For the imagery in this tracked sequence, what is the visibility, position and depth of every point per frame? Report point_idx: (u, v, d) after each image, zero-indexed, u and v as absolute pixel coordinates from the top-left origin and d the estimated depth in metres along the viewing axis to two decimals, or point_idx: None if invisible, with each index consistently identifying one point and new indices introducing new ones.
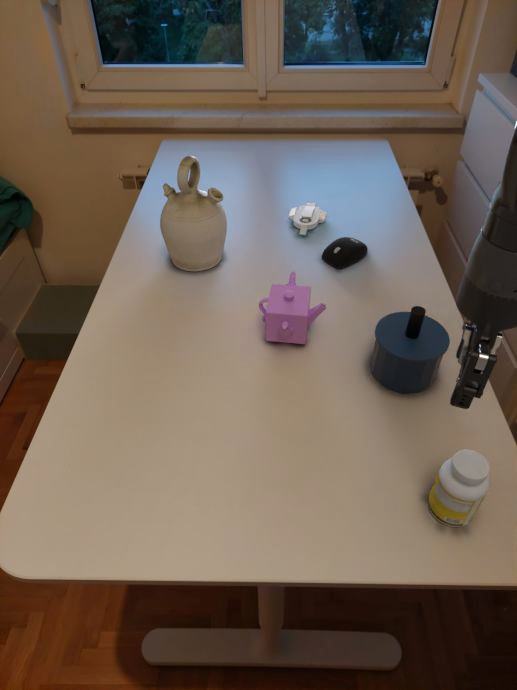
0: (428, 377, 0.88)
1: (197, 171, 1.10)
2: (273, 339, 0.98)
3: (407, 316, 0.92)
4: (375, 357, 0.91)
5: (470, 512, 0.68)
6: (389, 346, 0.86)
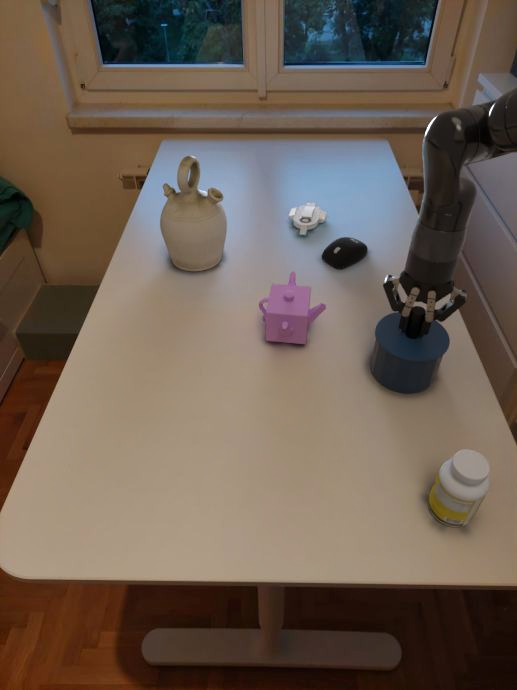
0: (428, 377, 0.88)
1: (197, 171, 1.10)
2: (273, 339, 0.98)
3: None
4: (375, 357, 0.91)
5: (470, 512, 0.68)
6: (389, 346, 0.86)
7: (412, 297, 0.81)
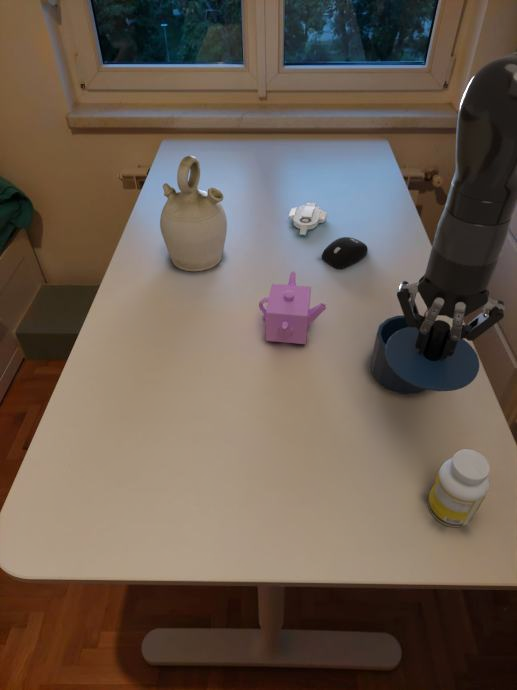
0: None
1: (197, 171, 1.10)
2: (273, 339, 0.98)
3: None
4: (375, 357, 0.91)
5: (470, 512, 0.68)
6: (404, 370, 0.68)
7: (434, 310, 0.64)
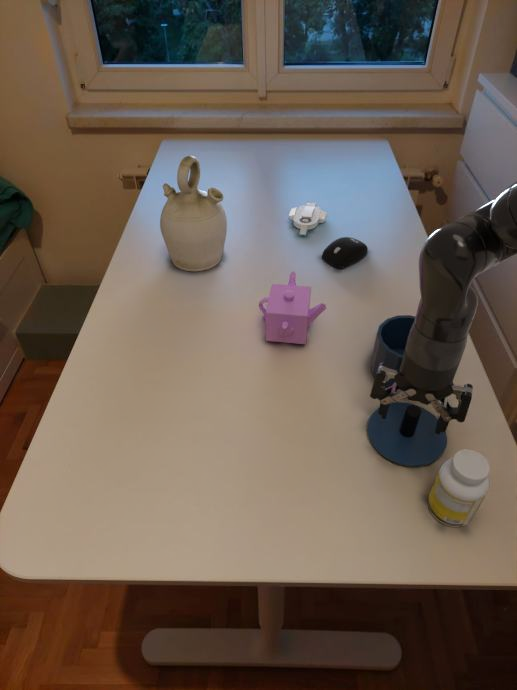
0: None
1: (197, 171, 1.10)
2: (273, 339, 0.98)
3: (402, 408, 0.86)
4: (375, 357, 0.91)
5: (470, 512, 0.68)
6: (382, 447, 0.80)
7: (403, 394, 0.75)
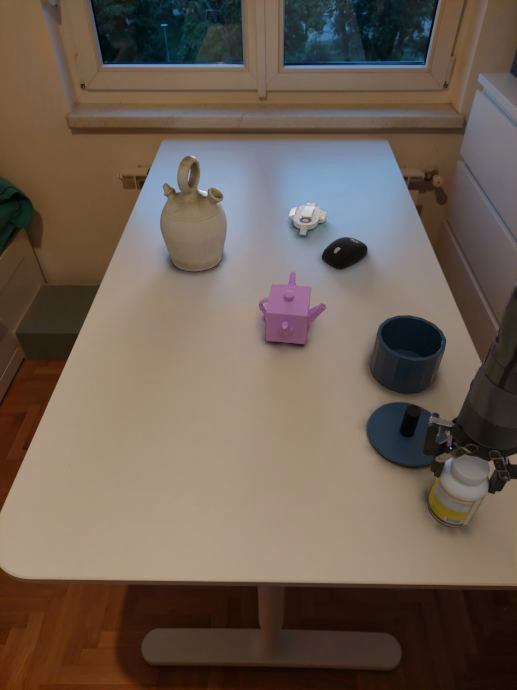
0: (428, 377, 0.88)
1: (197, 171, 1.10)
2: (273, 339, 0.98)
3: (402, 408, 0.86)
4: (375, 357, 0.91)
5: (470, 512, 0.68)
6: (382, 447, 0.80)
7: (462, 450, 0.62)
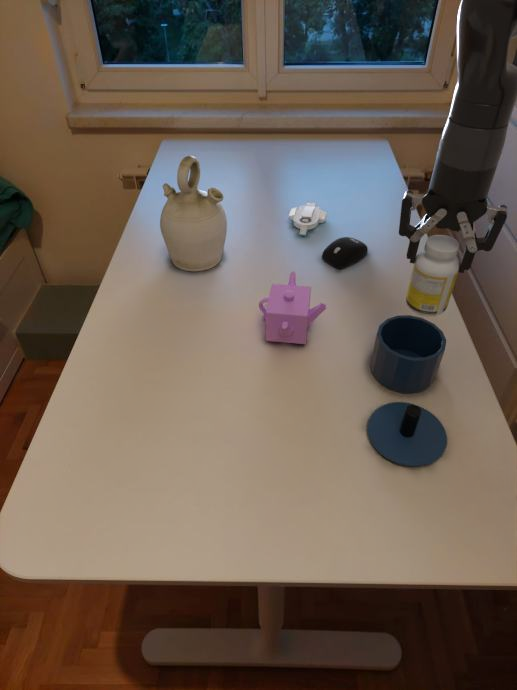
0: (428, 377, 0.88)
1: (197, 171, 1.10)
2: (273, 339, 0.98)
3: (402, 408, 0.86)
4: (375, 357, 0.91)
5: (442, 295, 0.75)
6: (382, 447, 0.80)
7: (433, 220, 0.69)
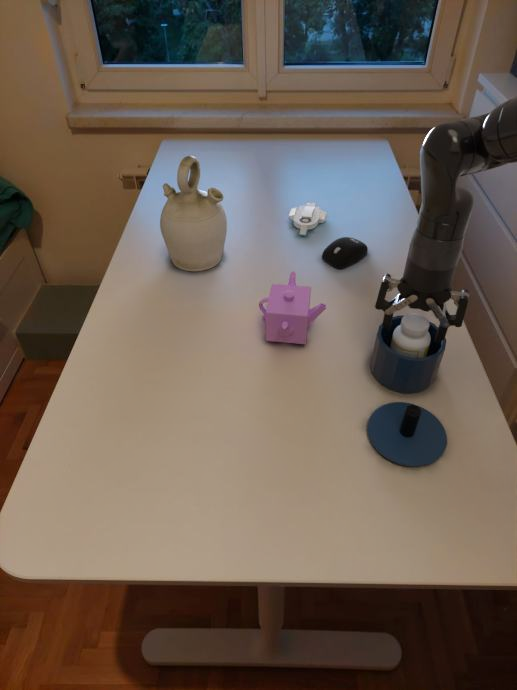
0: (428, 377, 0.88)
1: (197, 171, 1.10)
2: (273, 339, 0.98)
3: (402, 408, 0.86)
4: (375, 357, 0.91)
5: None
6: (382, 447, 0.80)
7: (406, 302, 0.82)
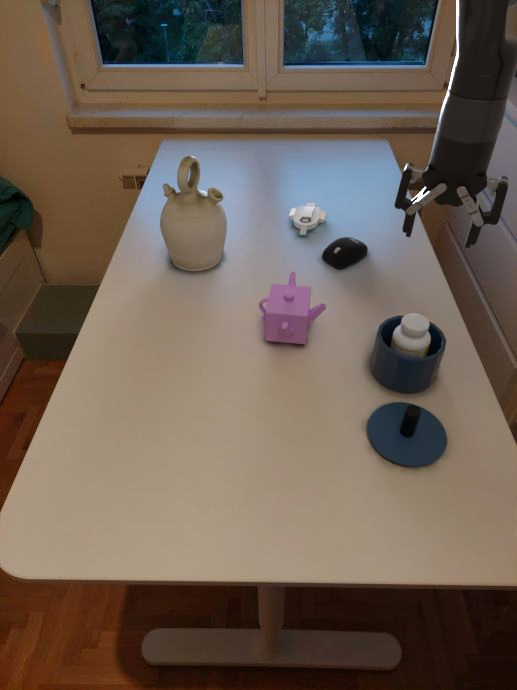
0: (428, 377, 0.88)
1: (197, 171, 1.10)
2: (273, 339, 0.98)
3: (402, 408, 0.86)
4: (375, 357, 0.91)
5: None
6: (382, 447, 0.80)
7: (432, 194, 0.69)
